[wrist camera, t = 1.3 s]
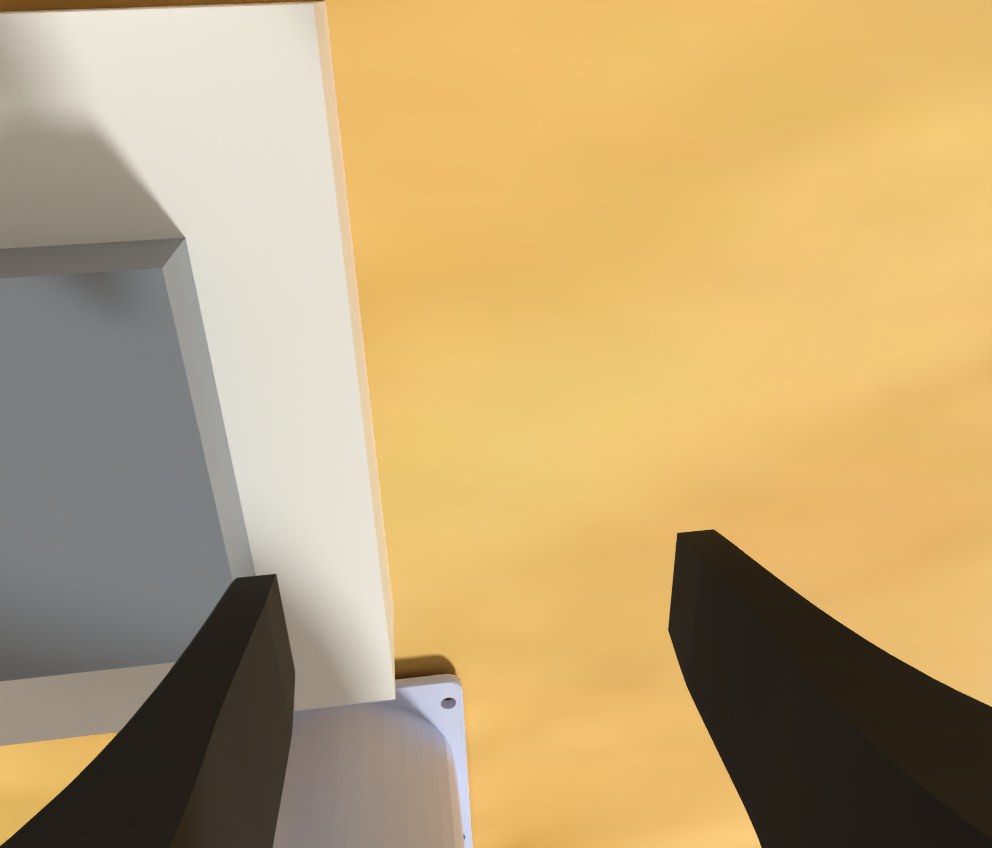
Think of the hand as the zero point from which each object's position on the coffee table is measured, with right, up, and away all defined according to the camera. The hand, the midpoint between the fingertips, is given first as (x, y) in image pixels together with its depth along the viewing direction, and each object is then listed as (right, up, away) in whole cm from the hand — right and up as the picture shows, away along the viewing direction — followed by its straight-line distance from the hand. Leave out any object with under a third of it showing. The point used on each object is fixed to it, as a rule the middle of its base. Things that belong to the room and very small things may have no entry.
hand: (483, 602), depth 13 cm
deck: (-9, +4, +8) cm, 13 cm away
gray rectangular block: (-9, +2, +5) cm, 10 cm away
